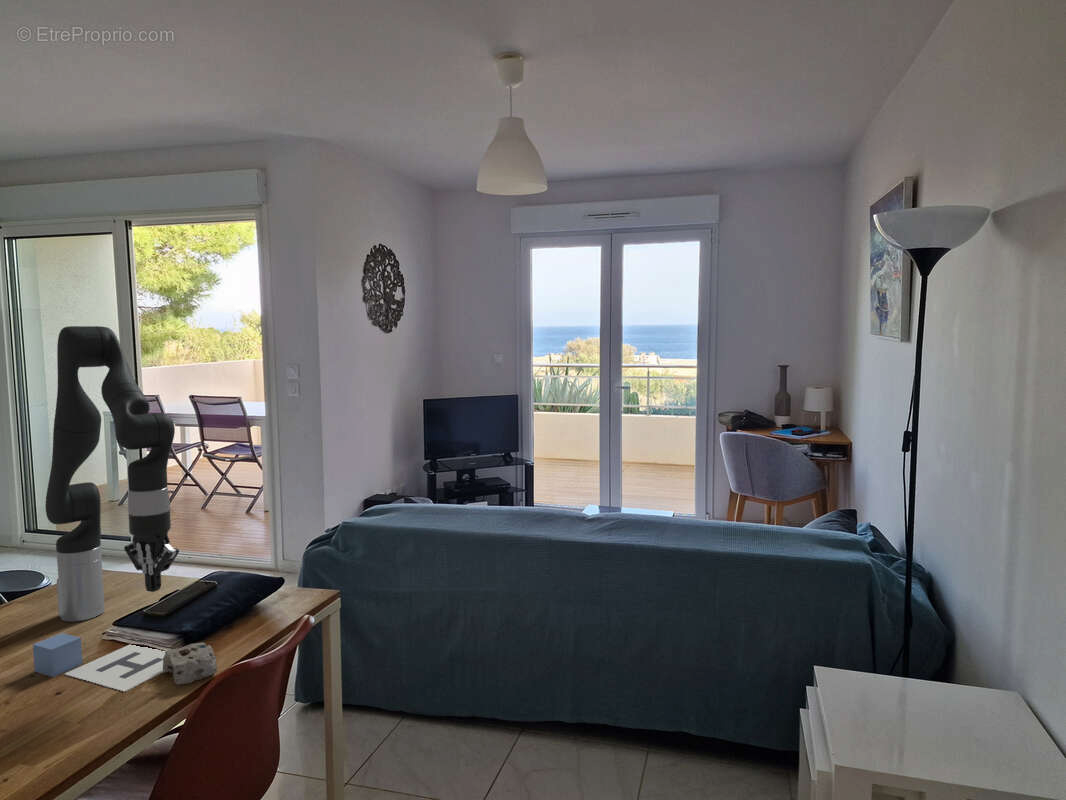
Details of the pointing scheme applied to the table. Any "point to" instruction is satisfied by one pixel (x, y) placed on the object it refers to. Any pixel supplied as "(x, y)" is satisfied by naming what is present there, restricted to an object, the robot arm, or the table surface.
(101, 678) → the letter card
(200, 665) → the stone
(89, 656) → the table surface
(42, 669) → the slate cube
